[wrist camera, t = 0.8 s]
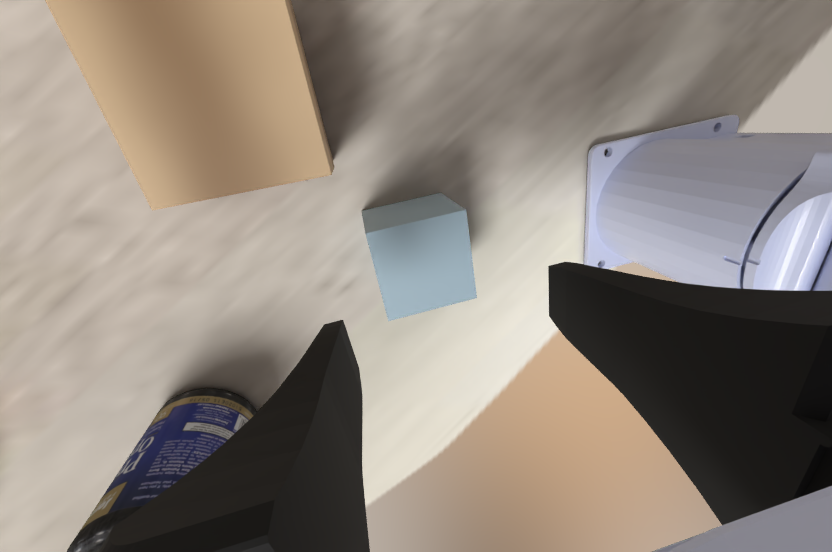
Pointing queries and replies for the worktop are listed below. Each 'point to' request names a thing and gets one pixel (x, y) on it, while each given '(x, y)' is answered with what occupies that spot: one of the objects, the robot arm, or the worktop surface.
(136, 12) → the slab upper
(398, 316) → the cube
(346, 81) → the worktop surface
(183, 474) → the pill bottle
